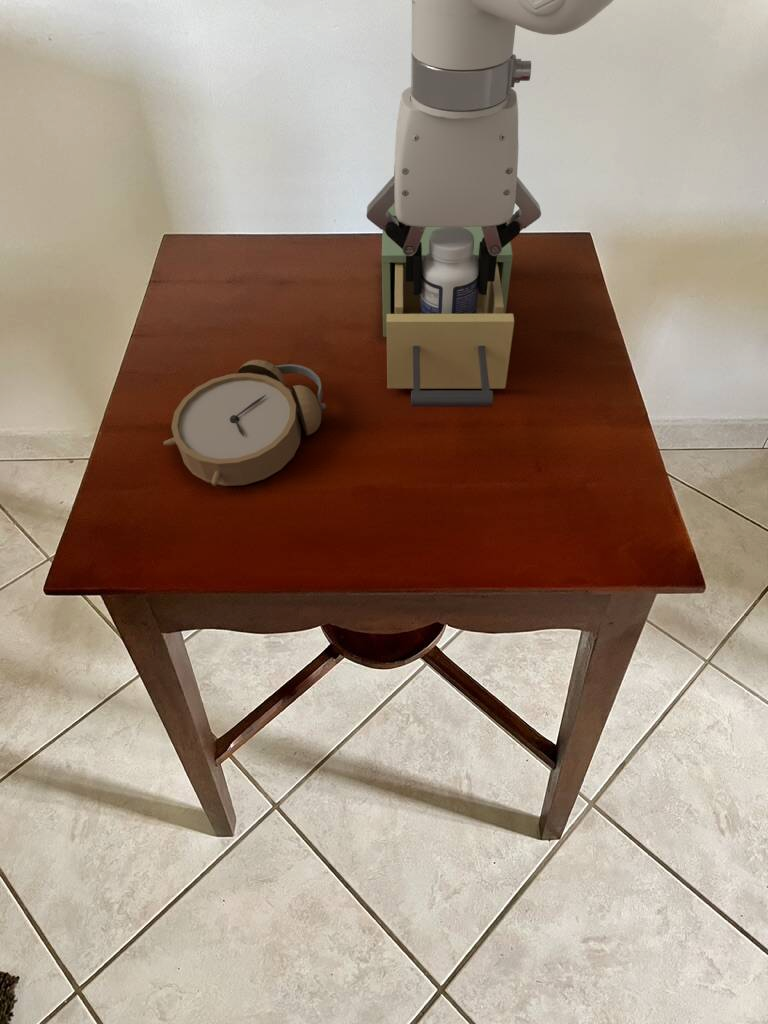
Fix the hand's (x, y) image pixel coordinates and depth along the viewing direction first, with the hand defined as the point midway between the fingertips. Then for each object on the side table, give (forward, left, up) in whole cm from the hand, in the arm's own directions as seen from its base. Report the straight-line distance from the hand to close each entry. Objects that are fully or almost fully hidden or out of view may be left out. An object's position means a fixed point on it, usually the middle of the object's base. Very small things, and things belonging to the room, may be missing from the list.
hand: (449, 285), depth 72 cm
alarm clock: (+18, +11, -9) cm, 23 cm away
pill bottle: (0, 0, -5) cm, 5 cm away
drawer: (0, +3, -8) cm, 9 cm away
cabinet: (0, -11, -9) cm, 14 cm away
